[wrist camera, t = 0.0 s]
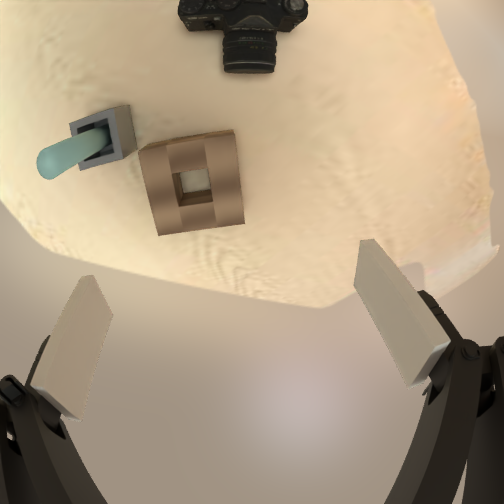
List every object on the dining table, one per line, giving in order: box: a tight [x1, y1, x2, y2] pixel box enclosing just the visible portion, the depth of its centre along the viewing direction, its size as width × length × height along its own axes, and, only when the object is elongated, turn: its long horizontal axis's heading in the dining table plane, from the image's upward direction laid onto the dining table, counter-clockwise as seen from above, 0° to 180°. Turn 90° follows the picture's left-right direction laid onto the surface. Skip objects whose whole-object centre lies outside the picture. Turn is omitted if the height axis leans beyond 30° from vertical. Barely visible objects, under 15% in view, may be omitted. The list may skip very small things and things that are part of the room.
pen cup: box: [69, 105, 137, 171], centre depth 30 cm, size 7×7×6 cm
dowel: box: [37, 124, 113, 180], centre depth 25 cm, size 3×3×16 cm
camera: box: [178, 0, 308, 74], centre depth 23 cm, size 14×11×10 cm
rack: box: [138, 130, 245, 236], centre depth 36 cm, size 12×12×5 cm
